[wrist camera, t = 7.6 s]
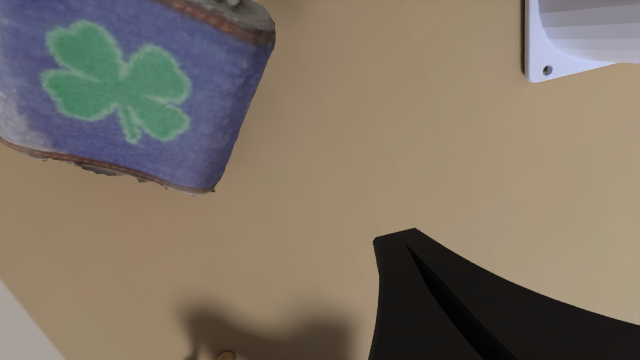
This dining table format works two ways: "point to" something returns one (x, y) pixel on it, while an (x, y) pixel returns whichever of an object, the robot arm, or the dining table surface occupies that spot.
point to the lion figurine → (227, 356)
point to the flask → (132, 84)
